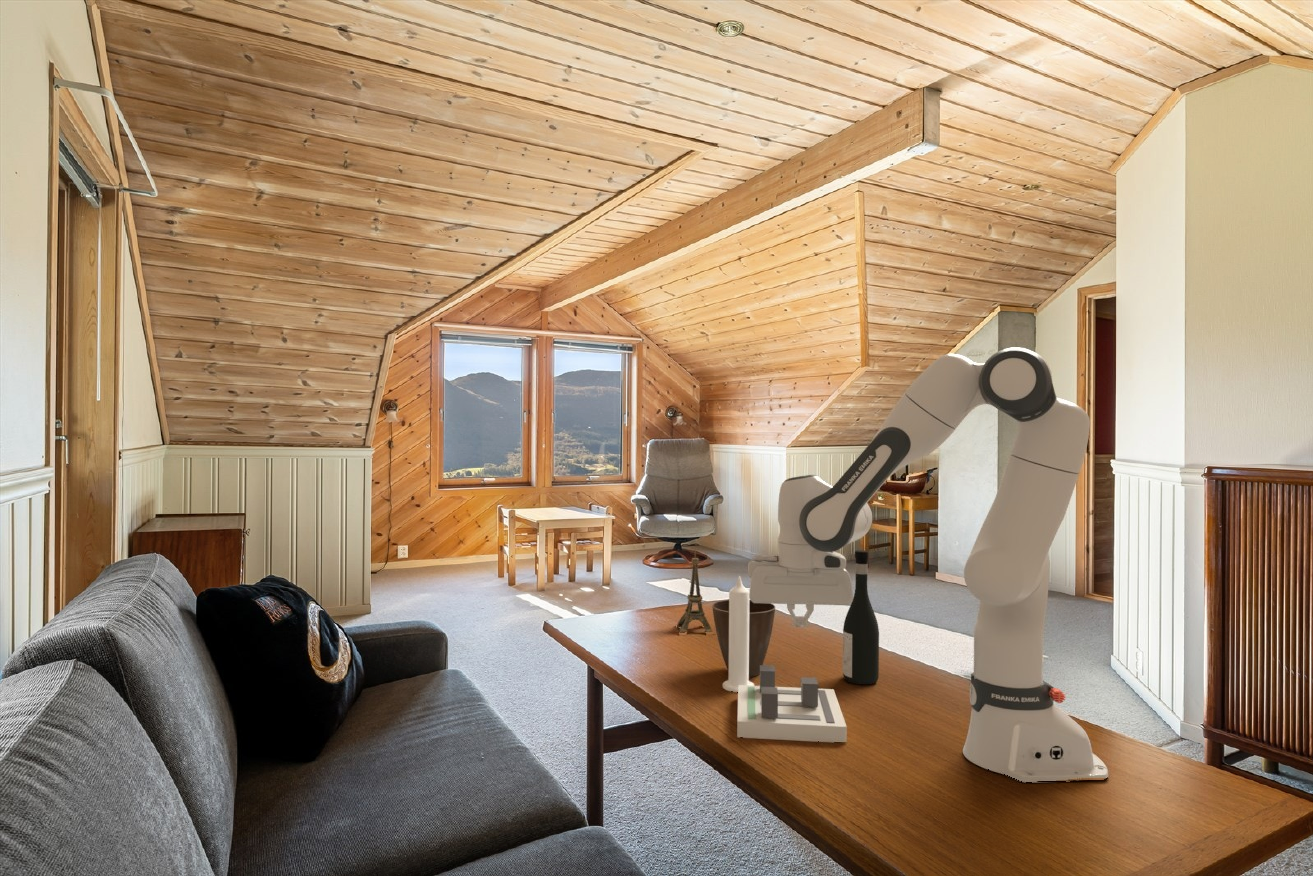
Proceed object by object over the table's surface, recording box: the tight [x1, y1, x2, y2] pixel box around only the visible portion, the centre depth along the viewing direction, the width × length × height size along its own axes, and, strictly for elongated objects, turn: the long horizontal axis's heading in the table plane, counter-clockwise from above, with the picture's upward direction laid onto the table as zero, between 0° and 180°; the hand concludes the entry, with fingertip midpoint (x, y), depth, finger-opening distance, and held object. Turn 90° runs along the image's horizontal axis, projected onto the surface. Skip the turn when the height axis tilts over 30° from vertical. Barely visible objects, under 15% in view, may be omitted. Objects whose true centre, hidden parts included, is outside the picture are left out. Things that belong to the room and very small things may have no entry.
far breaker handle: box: [759, 664, 776, 692], centre depth 160 cm, size 3×4×4 cm
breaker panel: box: [736, 685, 848, 743], centre depth 152 cm, size 20×21×3 cm
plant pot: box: [712, 599, 776, 678], centre depth 182 cm, size 15×15×16 cm
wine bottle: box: [842, 549, 880, 686], centre depth 177 cm, size 8×8×30 cm
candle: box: [722, 575, 755, 693], centre depth 171 cm, size 7×7×25 cm
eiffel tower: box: [676, 548, 714, 633], centre depth 221 cm, size 11×11×25 cm
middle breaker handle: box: [800, 676, 819, 707], centre depth 152 cm, size 3×4×4 cm
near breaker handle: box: [761, 686, 778, 718], centre depth 146 cm, size 3×4×4 cm
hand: (800, 626), depth 152 cm, fingers closed
